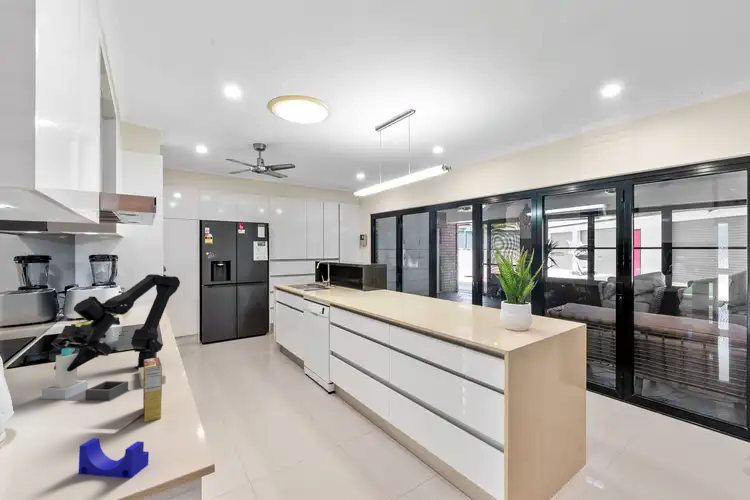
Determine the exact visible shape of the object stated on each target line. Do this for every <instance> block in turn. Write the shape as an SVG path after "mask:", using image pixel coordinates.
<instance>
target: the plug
mask: <svg viewBox="0 0 750 500" xmlns="http://www.w3.org/2000/svg"><path fill="white" fill-rule="evenodd" d="M59 354H60V353H59ZM59 354H57V355H56V354H55V364H56V369H55V370H54V371H55V373H54V374H55V375H54V384H55V388H63V389H66V388H68V387H71V386H73V385H76V384H77V380H78V379H77V378H78V367H77V368H75V369H74V370H72V371H70V372H69V371H67V369H68V367H69V366H70V364H71V363H72V362H73V360H74V359H75V358H76V356H77V355H78V354H79V353H76V352H74V353H73V348H72V347H69V348H63V349H62V354H60V355H59Z"/></svg>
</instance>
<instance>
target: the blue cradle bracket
mask: <svg viewBox="0 0 750 500" xmlns="http://www.w3.org/2000/svg"><path fill="white" fill-rule="evenodd" d="M144 442H145V441H140V440H139V441H138V440H137V441H136V442H134V443H132V444H131V445H130V446H128V447H126V448H125V450H124V451H125V452H124V455H123V456H122V457H121V458H119V459H118V460H115V459H112V458H110V457H108V455H106V454H105V452H104V451H103V449H102V447H101V443H100V438H97V437H93V438H91V439H88V440H87V441H86V442H84V443H82V444H80V445H79V454H78V455H79V456H78V475H84V476H97V477H109V478H123V479H133V478H135V476H136V475H137V474H138V473H140V472H141V471H142V470H144V469H145V468H146V467H147V466H149V453H150V452H149V451H145V449H144V445H145V444H144Z"/></svg>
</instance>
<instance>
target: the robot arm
mask: <svg viewBox="0 0 750 500" xmlns="http://www.w3.org/2000/svg"><path fill="white" fill-rule="evenodd" d="M180 283H181V281H180V278H179V277H178V276H175V275H174V276H171V275H160V274H158V273H157V274H155V273H154V274H153V273H152V274H151V273H150V274H147V275H146V276H145V277H144V278H142V279H141V280H140V281H139V282H137V283H136V284H134V285H133V286H132V287H130V288H129V289H128V290H126V291H125V292H123V293H121V294H117V295H115V296H113V297H111V298H109V299H107V300H105V302H102V303H101V301H99V300H98V298H97V297H96V296H91V295H90V296H88V298H85V299H83V300H81V301H79V302H77V303H76V304H75V305H74V307H73V311H74V312H75V313H77V314H78V315H79V316H80V317H81V318H83V319H84V320H85V321H92V322H91V323H90V324H89V325H81V326H80V327H78V326H71V325H64V328H63V329H62V331H61V333H60V336H63V337H57V338H55V339H54V340H53V341H52V342H51V345H52V346H54V347H55V348H57V349H58V350H59V354H58V355H60V354H62V349H63V348H69V347H72V348H73V353H75V352H76V351H75V350H76V349H79V350H78V353H77V354H78V355H77V356H76V358H75V359H74V360H73V362H72V363H71V364H70V366H69V367H68V369H67V371H69V372H70V371H72V370H74V369H75V368H77V369H78V368H79V367H80V366H82V365H84V364H86V363H88V362H90V361H91V360H93V359H96V358H99V356H101V357H102V356H103V357H108V356H109V354H110V353H111V352H112V346H110V345H109V344H108V343H106V342H105V341H104V340H101V339H106V338H107V335H106V334H107V332H108V330H110V328H111V327H112V326H119V325H121V321H120V317H118V316H119V315H123V316H124V315H125V314H127V313H128V312H129V311H130V310H131V309H132V308H133V307H134V304H135V302H136V301H137V300H138V299H139V298H141V297H142V296H143V295H145V294H146V293H147V292H149V291H150V290H151V289H152V288H153V287H155V290H156V296H155V298H154V301H153V303H152V305H151V308H150V310H149V312H148V315H147V317H146V320H145V322H144V324H143V326H142V327H141V328H136V329H135V330H134V333H133V335H132V337H130V339H131V342H130V344H131V345H132V348H133V351H134V352H135V353H136V352H137V353H138V358H137V359H138V361H137V365H135V366H134V369H139V368H141V367H144V360H146V359H152V358H158V357H157V353H158V352H160V351H162V347H163V344H162V343H161V342H160V341H159V340H158V339H159V333H158V326H159V325H160V322H161V319H162V317H163V314H164V311H165V310H166V307H167V305H168V303H169V300H170V297H172V295H174V294H175V293H176V292H177V290H178V288H179V287H180ZM114 315H118V316H117V317H116V316H114ZM64 336H65V337H64ZM68 337H70V338H68ZM71 337H72V338H71ZM71 339H72V340H74V341H75V343H74V342H73V341H71ZM55 369H56V363H55V365H54V367H53V370H54V371H55Z"/></svg>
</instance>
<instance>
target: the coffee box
mask: <svg viewBox="0 0 750 500" xmlns="http://www.w3.org/2000/svg"><path fill="white" fill-rule="evenodd" d="M92 321H93V320H92ZM92 321H86V320H85V321H81V322H76V323H70V326H78V327H80V326H81V325H89V324H90V323H91V322H92ZM71 338H72V337H70V340H71V341H73V342H74V343H75V341H74V340H72V339H71ZM76 350H77V349H76Z"/></svg>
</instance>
